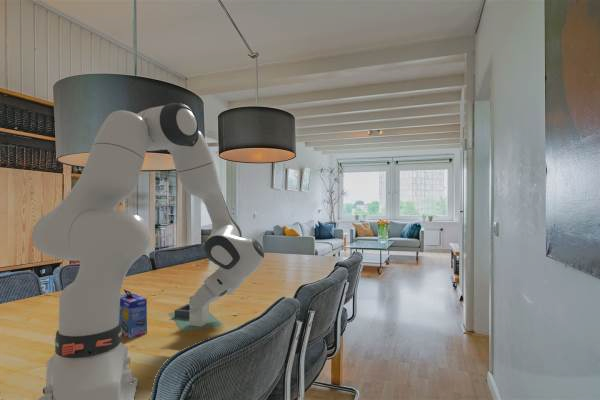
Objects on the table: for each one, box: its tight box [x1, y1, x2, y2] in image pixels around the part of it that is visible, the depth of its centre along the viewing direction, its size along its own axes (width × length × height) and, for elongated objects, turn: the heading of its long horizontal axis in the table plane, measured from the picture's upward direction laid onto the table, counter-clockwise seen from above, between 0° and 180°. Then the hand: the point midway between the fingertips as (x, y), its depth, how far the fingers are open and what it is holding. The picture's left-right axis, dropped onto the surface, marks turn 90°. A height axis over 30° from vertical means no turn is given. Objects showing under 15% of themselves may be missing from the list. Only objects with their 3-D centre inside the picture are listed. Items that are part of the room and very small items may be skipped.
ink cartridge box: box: [119, 289, 148, 339], centre depth 106 cm, size 10×6×14 cm, turn 51°
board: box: [168, 303, 224, 332], centre depth 119 cm, size 21×13×4 cm, turn 31°
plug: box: [189, 296, 210, 327], centre depth 114 cm, size 4×4×9 cm
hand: (197, 308), depth 114 cm, fingers open, 7 cm apart
